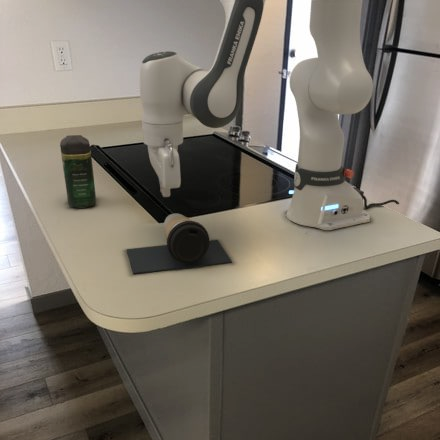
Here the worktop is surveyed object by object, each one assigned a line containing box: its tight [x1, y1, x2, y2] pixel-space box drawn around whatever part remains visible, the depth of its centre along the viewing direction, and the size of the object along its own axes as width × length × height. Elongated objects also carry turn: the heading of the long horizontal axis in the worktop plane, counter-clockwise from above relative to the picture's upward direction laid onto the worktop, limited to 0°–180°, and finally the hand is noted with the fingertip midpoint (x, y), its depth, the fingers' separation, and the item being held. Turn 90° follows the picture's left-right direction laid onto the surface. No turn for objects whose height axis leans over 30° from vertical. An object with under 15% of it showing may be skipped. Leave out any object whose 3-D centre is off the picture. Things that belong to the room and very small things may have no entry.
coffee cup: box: [163, 212, 210, 263], centre depth 110 cm, size 9×9×15 cm
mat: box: [126, 239, 233, 275], centre depth 111 cm, size 22×12×1 cm, turn 106°
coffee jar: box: [59, 134, 97, 209], centre depth 135 cm, size 10×8×19 cm
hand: (165, 195), depth 114 cm, fingers closed
